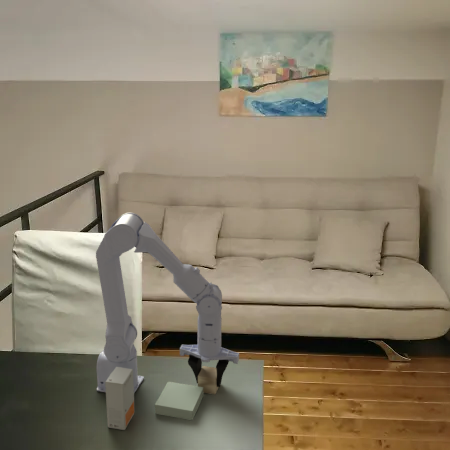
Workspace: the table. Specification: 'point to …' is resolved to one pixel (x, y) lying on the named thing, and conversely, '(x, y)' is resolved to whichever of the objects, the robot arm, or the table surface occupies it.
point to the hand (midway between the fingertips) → (209, 382)
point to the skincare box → (120, 398)
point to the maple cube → (208, 380)
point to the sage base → (179, 400)
